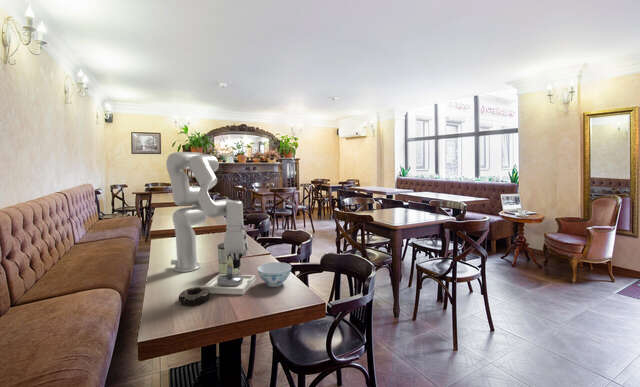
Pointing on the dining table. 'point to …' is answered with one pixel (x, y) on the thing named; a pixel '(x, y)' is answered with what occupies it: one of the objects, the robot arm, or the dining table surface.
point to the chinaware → (274, 273)
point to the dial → (230, 278)
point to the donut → (193, 296)
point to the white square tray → (239, 289)
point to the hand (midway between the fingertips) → (236, 267)
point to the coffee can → (225, 261)
